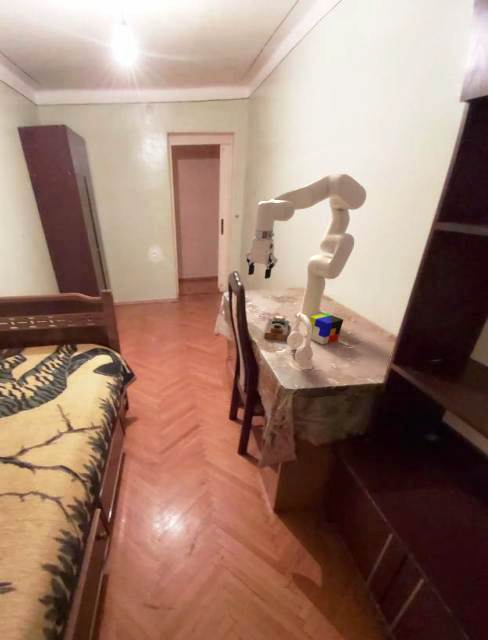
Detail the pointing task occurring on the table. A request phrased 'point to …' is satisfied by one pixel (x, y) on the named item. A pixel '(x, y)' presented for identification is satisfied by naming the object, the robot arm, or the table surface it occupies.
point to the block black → (283, 322)
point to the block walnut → (276, 332)
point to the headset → (296, 340)
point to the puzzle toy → (325, 328)
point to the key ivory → (279, 318)
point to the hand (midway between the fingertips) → (258, 276)
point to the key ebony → (277, 325)
